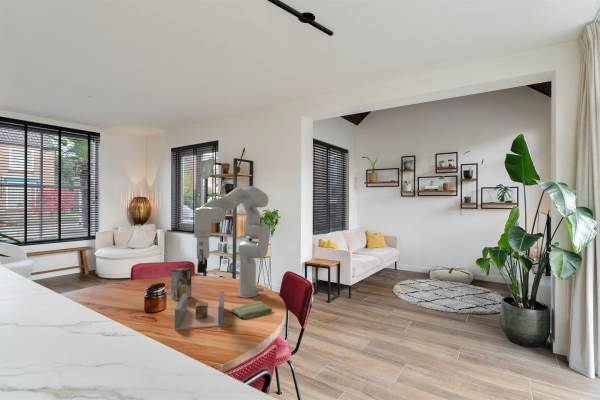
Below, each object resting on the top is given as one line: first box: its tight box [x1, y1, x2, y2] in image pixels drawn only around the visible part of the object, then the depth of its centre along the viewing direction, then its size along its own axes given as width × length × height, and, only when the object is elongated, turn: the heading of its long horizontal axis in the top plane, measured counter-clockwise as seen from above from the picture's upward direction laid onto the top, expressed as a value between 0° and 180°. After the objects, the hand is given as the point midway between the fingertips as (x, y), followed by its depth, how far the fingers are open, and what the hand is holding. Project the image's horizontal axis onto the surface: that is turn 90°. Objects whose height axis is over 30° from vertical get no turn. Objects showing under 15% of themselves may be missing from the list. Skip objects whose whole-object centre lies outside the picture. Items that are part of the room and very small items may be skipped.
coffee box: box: [170, 267, 192, 301], centre depth 174 cm, size 9×6×16 cm
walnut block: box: [195, 301, 209, 319], centre depth 144 cm, size 5×5×6 cm
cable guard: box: [174, 291, 225, 331], centre depth 144 cm, size 20×23×9 cm
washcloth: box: [231, 300, 273, 320], centre depth 153 cm, size 13×18×3 cm
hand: (202, 270), depth 145 cm, fingers open, 9 cm apart
